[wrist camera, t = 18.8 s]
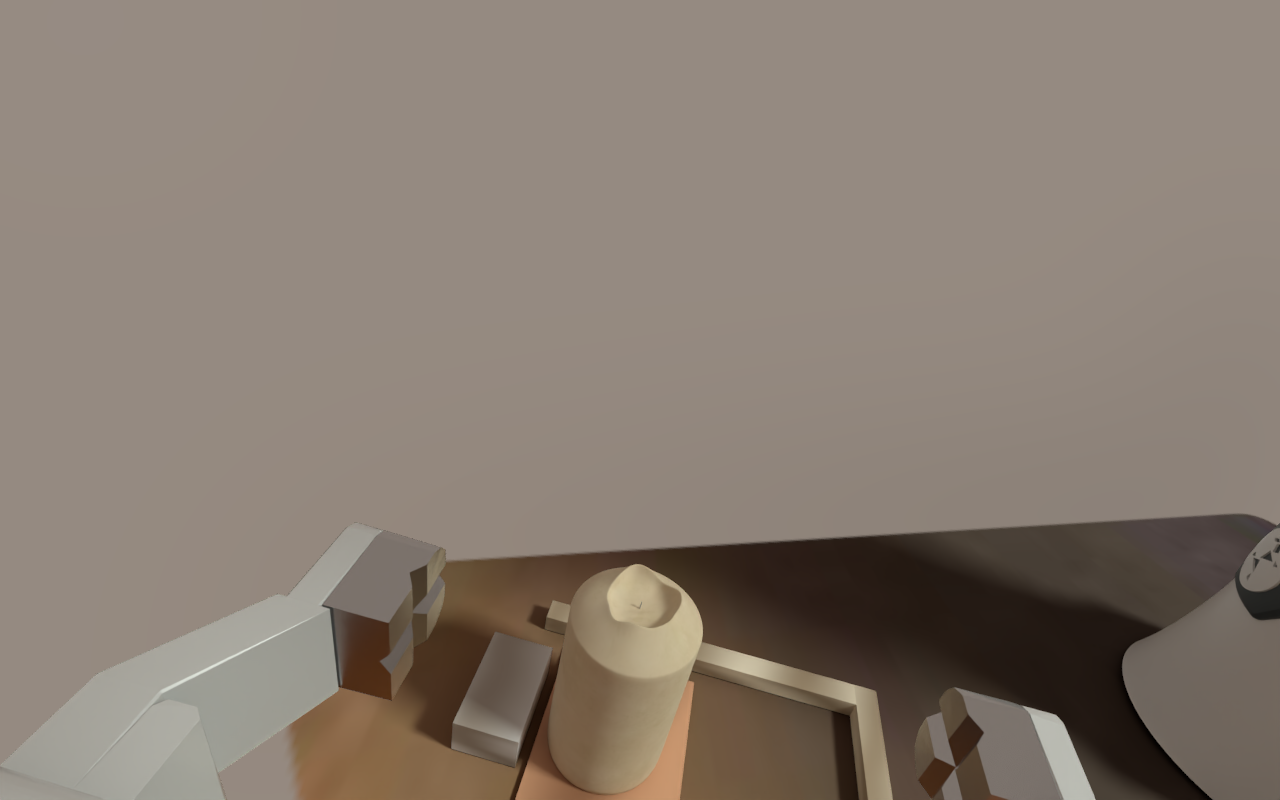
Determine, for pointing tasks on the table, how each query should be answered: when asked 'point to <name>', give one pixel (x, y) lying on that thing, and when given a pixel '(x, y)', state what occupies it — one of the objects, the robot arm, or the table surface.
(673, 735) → the beige frame
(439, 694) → the table surface
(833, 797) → the table surface
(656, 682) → the candle
